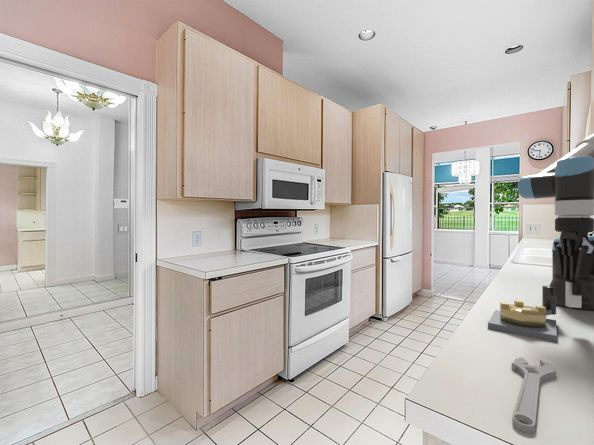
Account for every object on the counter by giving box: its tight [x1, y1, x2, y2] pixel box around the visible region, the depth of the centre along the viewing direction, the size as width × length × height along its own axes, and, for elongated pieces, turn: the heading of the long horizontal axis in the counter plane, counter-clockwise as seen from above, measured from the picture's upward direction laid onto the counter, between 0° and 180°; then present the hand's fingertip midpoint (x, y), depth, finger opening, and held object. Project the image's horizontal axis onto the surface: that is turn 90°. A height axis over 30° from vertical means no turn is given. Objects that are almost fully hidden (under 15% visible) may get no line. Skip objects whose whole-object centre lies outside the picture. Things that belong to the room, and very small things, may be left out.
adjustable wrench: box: [511, 356, 557, 434], centre depth 52 cm, size 25×6×2 cm, turn 133°
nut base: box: [487, 309, 558, 343], centre depth 83 cm, size 19×15×2 cm
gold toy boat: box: [499, 285, 557, 327], centre depth 82 cm, size 18×10×8 cm, turn 109°
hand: (573, 306), depth 78 cm, fingers closed
